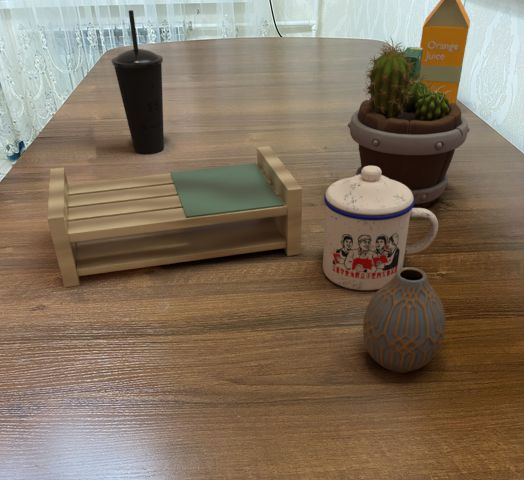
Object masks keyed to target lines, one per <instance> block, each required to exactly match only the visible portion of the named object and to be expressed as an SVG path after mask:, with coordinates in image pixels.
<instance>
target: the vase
mask: <svg viewBox="0 0 524 480" xmlns="http://www.w3.org/2000/svg"><path fill="white" fill-rule="evenodd" d="M362 321H363V323H362V337H363V341H364V342H363V343H364V346H365V348H366V350H367V352H368V354H369V356H370V357H371V358H372V359H373V360H374V361H375V363H377V364H378V365H380V366H381V367H382V368H384V369H386V370H388V371H391V372H395V373H410V372H413V371H416V370H418V369H422V368H423V367H425V366H426V365H428V364H429V363H430V362H431V361H432V360H433V359H434V358H435V356H436V355H437V353H438V352H439V350H440V348H441V346H442V343H443V340H444V339H445V338H444V337H445V333H446V326H447V325H446V324H447V323H446V322H447V321H446V313H445V309H444V305H443V302H442V300H441V299H440V297H439V295H438V293H437V292H436V291H435V289H434V288H433V287H432V285H431V284H430V282H429V279H428V275H427V273H426V272H425V271H424V270H423V269H421V268H418V267H412V266H406V267H403V268H401V269H399V270H398V271H397V273H396V274H395V276H394V277H393V278H392V279H391V280H390V281H389V282H388V283H386V284H385V285H384V286H383V287H382V288H380V289H377V290H376V292H375V293H374V294H373V295H372V297H371V298H370V301H369V302H368V304H367V306H366V309H365V312H364V316H363V320H362Z"/></svg>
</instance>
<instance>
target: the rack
mask: <svg viewBox="0 0 524 480" xmlns="http://www.w3.org/2000/svg"><path fill="white" fill-rule="evenodd" d="M67 178H68V177H67V173H66V168H65V167H56V168H50V169H49V184H48V185H49V187H48V202H47V216H46V217H47V218H46V219H47V223H48V228H49V231H50V235H51V241H52V244H53V247H54V248H53V249H54V252H55V256H56V259H57V264H58V267H59V270H60V276H61V279H62V282H63V287H64V288H69V287H75V286H80V277H82V276H89V275H98V274H104V273H105V274H106V273H112V272H113V273H114V272H120V271H128V270H134V269H140V268H141V269H142V268H149V267H156V266H163V265H170V264H177V263H178V264H179V263H185V262H192V261H193V262H194V261H200V260H208V259H214V258H221V257H229V256H236V255H243V254H250V253H258V252H265V251H273V250H280V249H283V251H284V253H285V254H286V256H287V257H291V256H297V255H298V256H299V255H301V253H302V215H303V214H302V213H303V208H302V207H303V188H302V186H301V185H300V184H299V183H298V181H297V180H296V178H294V176H293V175H292V173H291V172H290V171H289V170H288V168H287V167H286V166H285V165H284V163H283V162H282V161H281V159H280V158H279V156H277V154H276V153H275V152H274V150H273V149H272V148H271V147H270V146H269V145H268V146H259V147H258V146H257V147H256V162H253V163H244V164H235V165H226V166H217V167H207V168H199V169H198V168H197V169H189V170H180V171H172V172H171V171H170V173H161V174H153V175H143V176H134V177H133V176H132V177H124V178H123V177H122V178H114V179H106V180H97V181H89V182H79V183H69V182H68V179H67Z"/></svg>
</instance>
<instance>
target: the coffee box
mask: <svg viewBox="0 0 524 480" xmlns="http://www.w3.org/2000/svg"><path fill="white" fill-rule="evenodd" d="M403 51H404V52H403V53H406V54H404V56H403V58H404V57H405V55H406V56H407V55H408V56H407V57H406V58H404V59H407V60H408V59H411V60H408V62H409V64H410V63H413V62H415V63H413V65H412V64H410V65H412V66H413V67H414V68H415V70H412V71H413V72H412V71H410V72H409V79H410V80H411V78H410V76H411V77H412V76H414V75H415V76H416V77H417V76H418V77H419V78H420V70H421V61H422V53H423V48H420V46H419V47H418V46H416V47H415V46H407V47H405V50H403ZM403 53H402V54H403ZM409 54H410V55H409ZM408 57H409V58H408ZM407 60H406V61H407ZM410 67H411V66H410ZM413 67H411V68H413ZM417 69H418V70H417ZM418 72H419V73H418ZM413 73H414V74H413ZM415 73H416V74H415ZM410 74H411V75H410ZM417 74H419V75H417ZM415 76H414V77H412V78H413V81H415V80H414V79H415ZM419 78H417V81H419Z"/></svg>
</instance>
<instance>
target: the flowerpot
mask: <svg viewBox="0 0 524 480" xmlns="http://www.w3.org/2000/svg"><path fill="white" fill-rule="evenodd" d="M389 37H390V40H391V44H390V43H389V41H388V40H387V39H384V41H385V42H386V43H387V45H385V44H382V45H381V46H382V47H380V51H382V52H379V55H380V56H376V54H377V52H376V53H374V55H373V58H372V57H370V59H369V61H370V62H369V64H373V65H372V66H371V67H370V68H368V66H367V65H366V66H365V67H366V68H367V70H366V72H365V74H362V75H363V77H364V76H365V78H364V80H365V81H364V83H365V88H363V89H362V91H363V92H365V94H366V95H365V96H366V97H365V98H366V99H365V100H363V101H362V102H361V103H360V105H359V109H358V110H356V111H355V112H354V113H353V114H352V115H351V118H350V121H349V122H348V123H347V127H348V129H349V134H350V137H351V139H352V140H353V142H355V143H357V144H358V152H359V153H358V154H359V160H360V167H358V168H357V170H356V173H355V176H356V175H359V174H361V170H362V169H363V168H364V167H366V166H377V167H379V168H380V169H381V171H382V173H381V175H383V176H385V177H387V178H389V179H392V180H395V181H398V182H400V183H402V184H404V185H405V186H407V187H408V188H409V189H410V190H411V192H412V194H413V198H414V206H413V208H423V209H426V208H427V207H429V206H430V205H431V204H434V203H435V202H436V201H437V199H438V198H439V197H440V196H441V195H442V194H443V193H444V191H445V189H446V188H447V186H448V185H449V176H448V174H447V172H448V170H449V168H450V165H451V163H452V161H453V157H454V154H455V151H456V149H458V148H460V147H461V146H462V145H463V144H464V143H465V142H466V139H467V137H468V133H469V132H470V127H469V123H468V121H467V119H466V118H465V117H464V116H463V115H462V111H461V108H460V107H459V105H458V104H457V103H456V104H455V103H449V101H448V100H449V98H450V96H449V98H448V99H447V98H446V97H445V96H446V93H447V92H449V91H447V92H446V93H445V92H444V93H438V92H437V90H439V89H440V88H441V87H440V88H439V89H437V88H436V89H435V90H434V91H433V92H432V88H431V91H430V87H429V86H427V85H426V84H425V83H423V82H421V80H423V79H426V78H423V77H424V76H426V75H424V76H423V77H422V78H421V77H420V78H421V79H420V78H419V77H418V76H417V77H416V76H415V75H414V76H415V79H414V80H415V81H413V78H412V77H414V76H412V77H411V76H410V78H411V80H410V79H409V72H410V71H412V70H415V68H414V67H413V66H412V65H413V63H415V62H413V63H410V64H412V65H410V64H409V62H408V60H411V59H408V60H407V59H404V58H406V57H407V56H408V55H407V56H406V55H405V57H404V58H403V56H404V54H406V53H403V52H404V51H405V50H406V47H403V49H401V48H402V45H401V44H402V43H403V42H402V41H401V42H399V43H397V44H396V46H394V41H393V39H392V37H391V36H389ZM400 47H401V48H400ZM402 53H403V54H402ZM409 55H410V54H409ZM408 58H409V57H408ZM406 60H407V61H406ZM410 66H411V67H413V68H411V67H410ZM417 70H418V69H417ZM412 72H413V71H412ZM418 73H419V72H418ZM413 74H414V73H413ZM415 74H416V73H415ZM410 75H411V74H410ZM417 75H419V74H417ZM417 78H419V81H417ZM368 79H369V80H368ZM367 82H368V83H369V84H368V83H367ZM428 82H429V81H428ZM433 83H434V82H433ZM433 83H432V84H433ZM432 84H431V85H432ZM431 85H430V86H431ZM432 87H433V86H432ZM442 87H443V86H442ZM434 88H435V87H434ZM369 95H370V96H369ZM368 98H369V99H368Z"/></svg>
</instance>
